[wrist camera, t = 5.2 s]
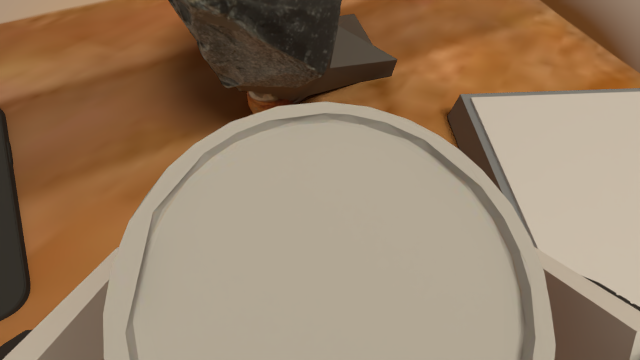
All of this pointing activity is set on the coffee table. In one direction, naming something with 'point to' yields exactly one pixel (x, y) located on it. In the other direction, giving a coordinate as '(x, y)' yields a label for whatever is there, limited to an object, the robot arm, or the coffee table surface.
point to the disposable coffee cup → (326, 249)
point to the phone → (10, 235)
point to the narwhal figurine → (282, 47)
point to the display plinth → (565, 173)
